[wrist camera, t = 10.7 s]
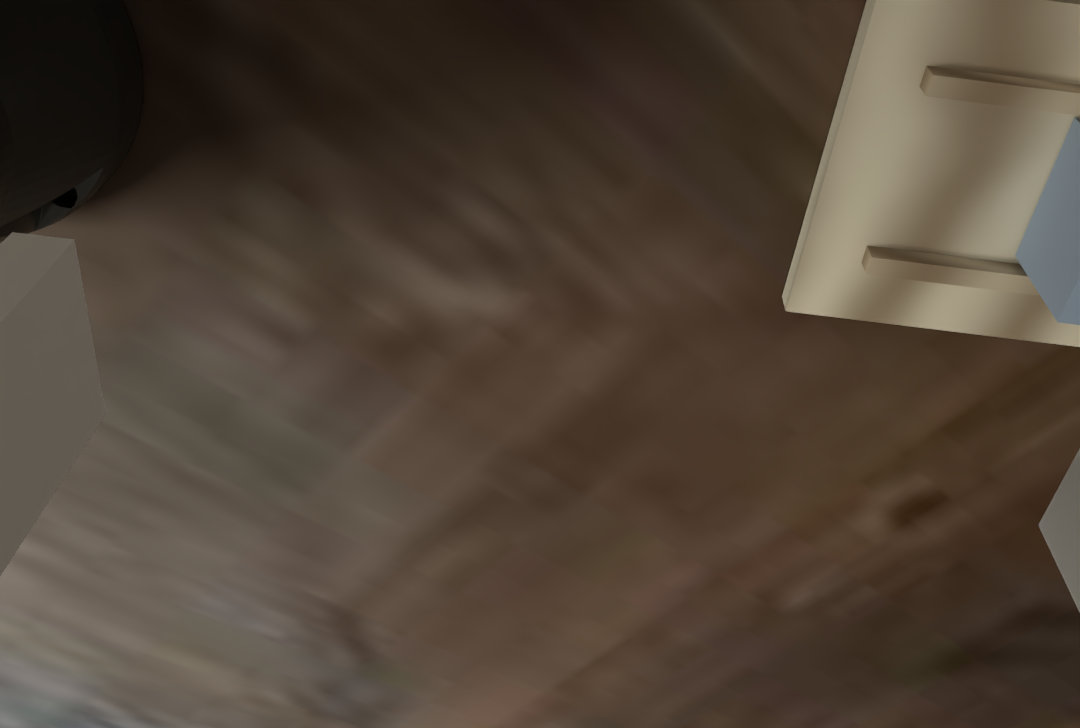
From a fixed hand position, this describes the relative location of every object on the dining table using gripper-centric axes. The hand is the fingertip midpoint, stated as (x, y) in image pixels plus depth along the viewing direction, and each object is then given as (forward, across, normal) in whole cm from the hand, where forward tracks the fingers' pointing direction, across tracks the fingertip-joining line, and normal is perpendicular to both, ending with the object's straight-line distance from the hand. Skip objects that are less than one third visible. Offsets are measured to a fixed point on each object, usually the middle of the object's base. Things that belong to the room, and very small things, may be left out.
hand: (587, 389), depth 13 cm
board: (+29, +21, -8) cm, 36 cm away
